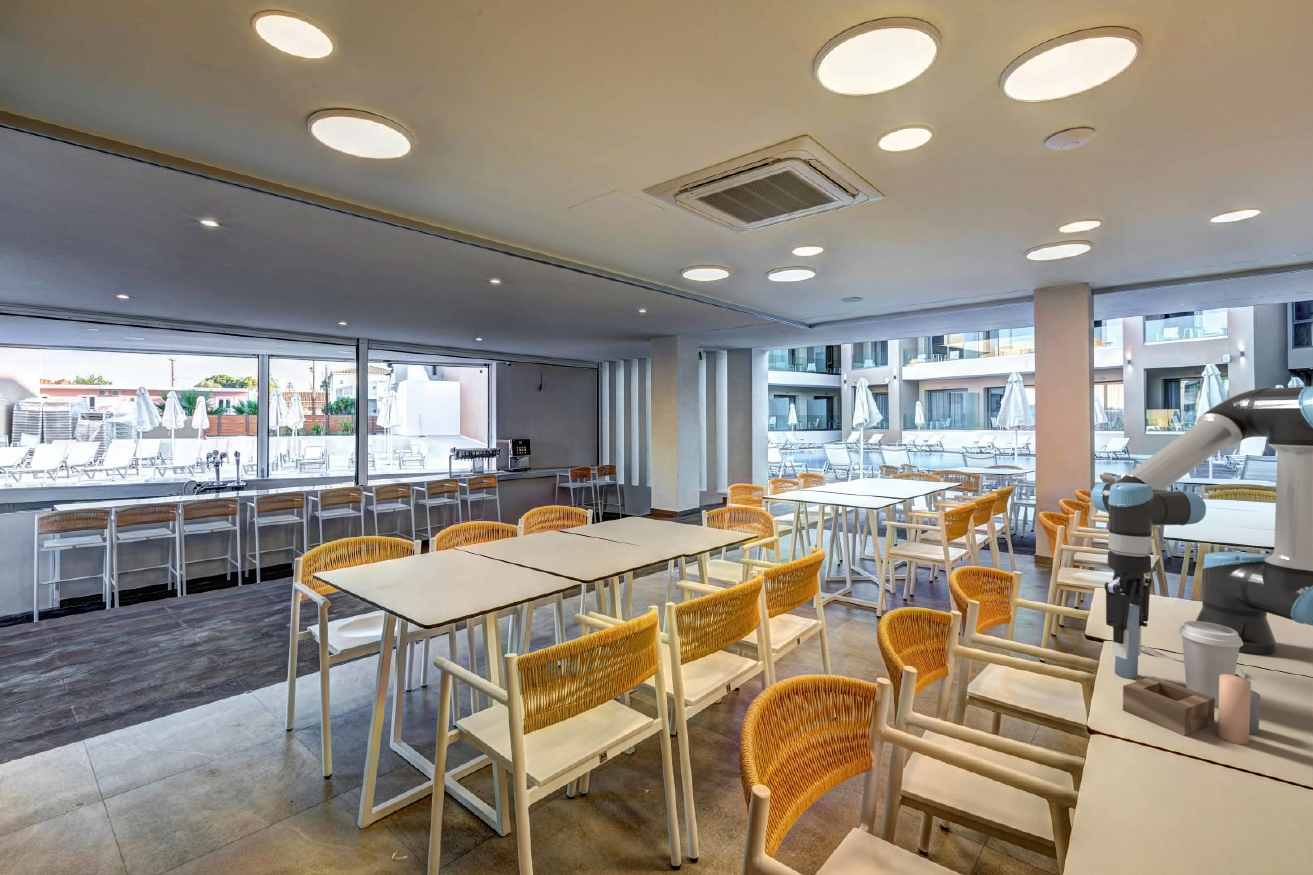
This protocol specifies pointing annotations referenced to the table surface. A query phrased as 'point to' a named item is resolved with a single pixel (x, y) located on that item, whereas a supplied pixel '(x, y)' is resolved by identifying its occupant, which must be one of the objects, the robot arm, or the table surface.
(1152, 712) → the socket block
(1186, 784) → the table surface
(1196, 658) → the coffee cup
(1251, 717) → the short dowel
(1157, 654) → the silver metal utensil
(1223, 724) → the medium dowel
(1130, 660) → the tall dowel
